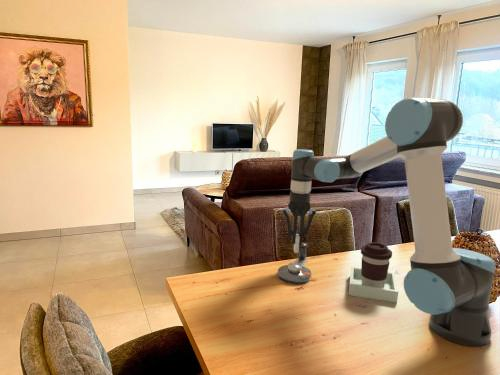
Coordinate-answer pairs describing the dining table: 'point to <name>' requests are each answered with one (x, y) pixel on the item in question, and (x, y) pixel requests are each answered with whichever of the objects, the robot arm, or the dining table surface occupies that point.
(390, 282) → the tray
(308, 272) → the grey round base
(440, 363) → the dining table surface
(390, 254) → the coffee cup
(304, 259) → the crank
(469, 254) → the robot arm
